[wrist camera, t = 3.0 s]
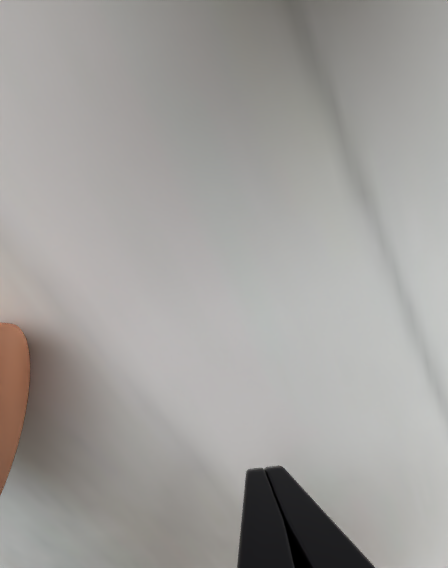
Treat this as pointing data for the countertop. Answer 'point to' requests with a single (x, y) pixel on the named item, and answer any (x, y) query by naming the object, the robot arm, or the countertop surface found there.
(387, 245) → the countertop surface
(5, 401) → the lynch pin
